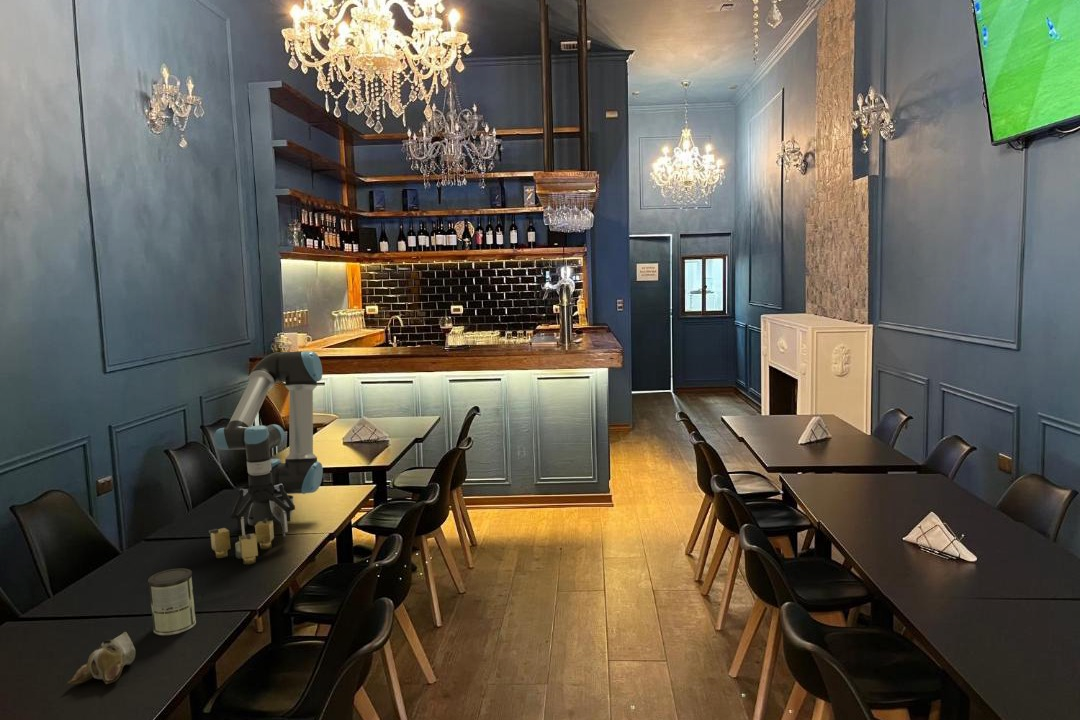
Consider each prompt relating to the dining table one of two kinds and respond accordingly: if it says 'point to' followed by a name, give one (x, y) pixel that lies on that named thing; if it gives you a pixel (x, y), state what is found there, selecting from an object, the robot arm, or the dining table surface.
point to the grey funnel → (280, 510)
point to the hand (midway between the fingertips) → (265, 534)
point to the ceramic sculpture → (107, 660)
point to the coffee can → (172, 601)
